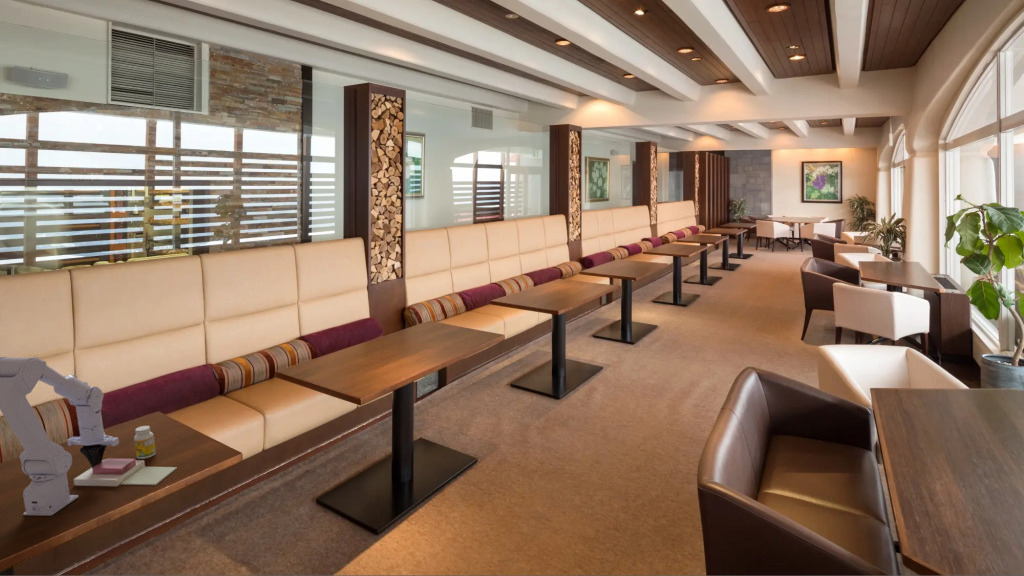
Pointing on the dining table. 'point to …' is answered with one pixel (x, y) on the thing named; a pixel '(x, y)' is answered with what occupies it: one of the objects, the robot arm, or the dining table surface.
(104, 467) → the tile
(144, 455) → the supplement bottle
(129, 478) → the mat
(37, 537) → the dining table surface
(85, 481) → the white flat block
